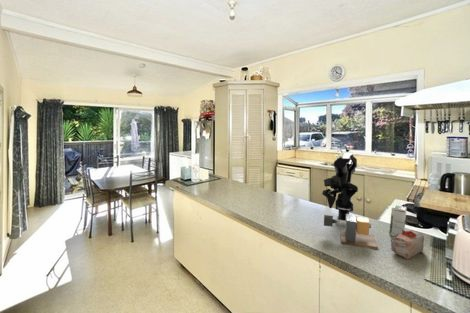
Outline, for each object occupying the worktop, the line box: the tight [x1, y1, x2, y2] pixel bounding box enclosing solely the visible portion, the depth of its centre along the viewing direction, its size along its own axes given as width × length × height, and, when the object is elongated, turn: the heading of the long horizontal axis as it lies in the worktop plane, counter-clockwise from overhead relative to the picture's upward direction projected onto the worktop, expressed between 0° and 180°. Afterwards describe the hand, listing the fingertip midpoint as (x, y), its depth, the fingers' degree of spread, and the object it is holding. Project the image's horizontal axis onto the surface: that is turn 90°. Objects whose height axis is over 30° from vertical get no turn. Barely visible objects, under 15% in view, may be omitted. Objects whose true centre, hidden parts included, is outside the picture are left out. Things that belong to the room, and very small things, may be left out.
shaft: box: [323, 214, 372, 229], centre depth 116 cm, size 4×20×4 cm, turn 68°
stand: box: [340, 213, 379, 250], centre depth 114 cm, size 12×15×11 cm
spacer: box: [355, 216, 370, 235], centre depth 113 cm, size 6×5×6 cm
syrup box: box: [388, 204, 408, 237], centre depth 119 cm, size 6×6×14 cm
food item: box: [390, 229, 425, 260], centre depth 103 cm, size 14×8×10 cm, turn 121°
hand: (336, 206), depth 116 cm, fingers open, 9 cm apart
